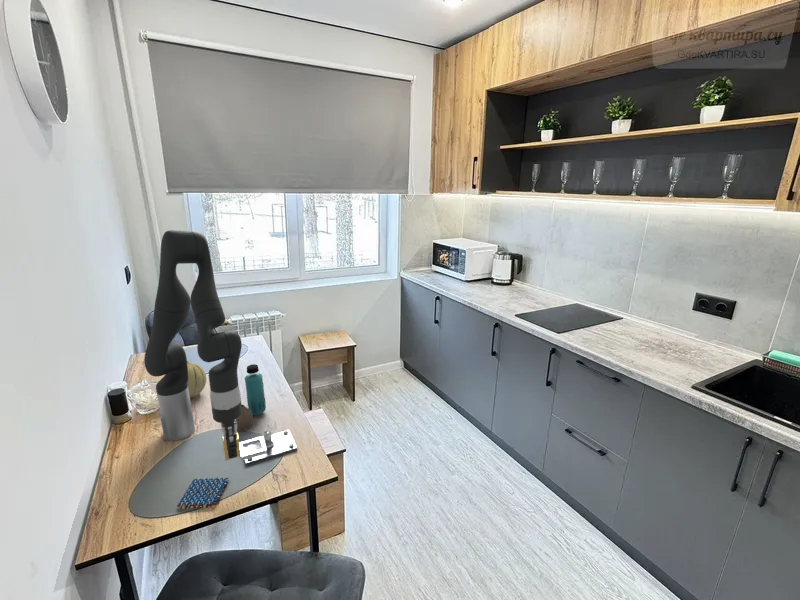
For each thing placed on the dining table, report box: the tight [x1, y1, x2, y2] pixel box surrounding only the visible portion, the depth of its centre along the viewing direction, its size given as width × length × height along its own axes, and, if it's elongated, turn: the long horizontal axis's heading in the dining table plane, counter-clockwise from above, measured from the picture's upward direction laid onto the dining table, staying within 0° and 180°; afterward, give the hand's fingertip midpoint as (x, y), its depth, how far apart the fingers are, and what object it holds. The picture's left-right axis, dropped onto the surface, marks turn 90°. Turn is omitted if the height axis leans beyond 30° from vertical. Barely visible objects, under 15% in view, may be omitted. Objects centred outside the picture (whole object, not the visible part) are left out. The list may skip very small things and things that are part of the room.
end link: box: [222, 432, 267, 461], centre depth 111 cm, size 11×7×6 cm, turn 118°
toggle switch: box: [243, 429, 298, 466], centre depth 127 cm, size 16×11×6 cm
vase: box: [236, 404, 254, 432], centre depth 137 cm, size 7×7×9 cm
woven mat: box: [176, 476, 230, 510], centre depth 108 cm, size 10×11×2 cm
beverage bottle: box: [244, 364, 267, 415], centre depth 144 cm, size 6×7×20 cm
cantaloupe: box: [187, 360, 207, 399], centre depth 156 cm, size 15×15×15 cm
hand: (232, 453), depth 110 cm, fingers closed on end link, 3 cm apart
